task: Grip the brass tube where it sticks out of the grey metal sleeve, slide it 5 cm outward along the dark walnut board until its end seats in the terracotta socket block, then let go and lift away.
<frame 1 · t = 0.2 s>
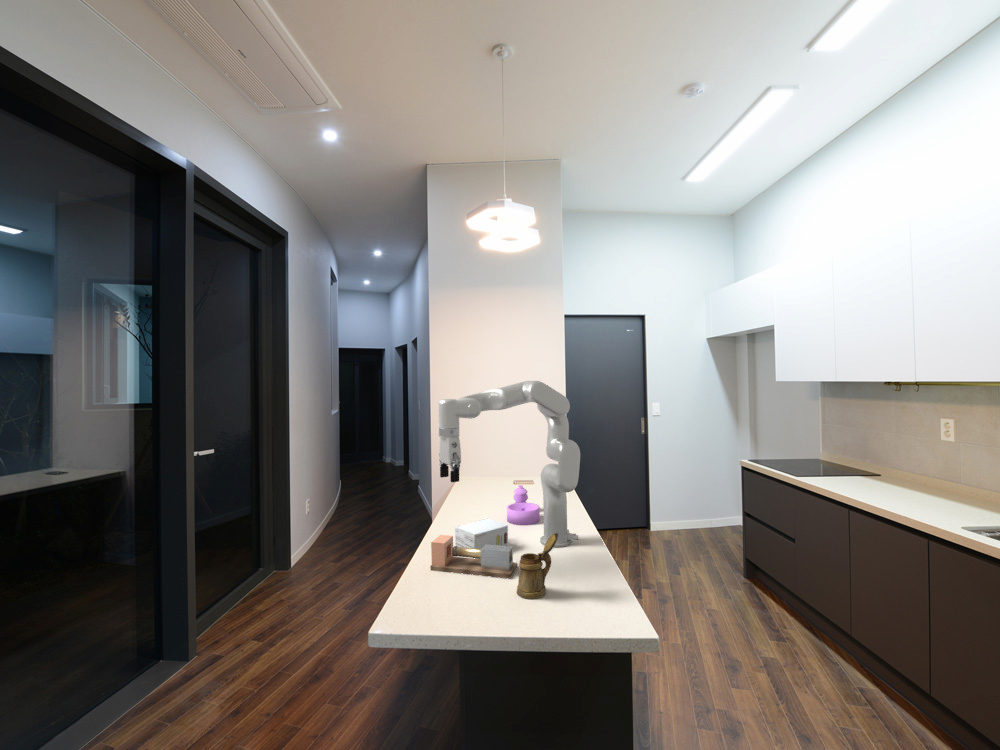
hand: (449, 479, 171), 30 cm above the counter, tool pointing down, fingers open, 9 cm apart
base board: (474, 568, 164), on the counter
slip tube: (481, 553, 164), point 6 cm above the counter, slide at 0.0 cm
socket block: (442, 550, 168), on the base board, point 6 cm above the counter
container set: (522, 517, 224), on the counter
wooden mug: (538, 592, 146), on the counter
sleeve: (496, 557, 162), on the base board, point 5 cm above the counter
supplement box: (481, 549, 184), on the counter
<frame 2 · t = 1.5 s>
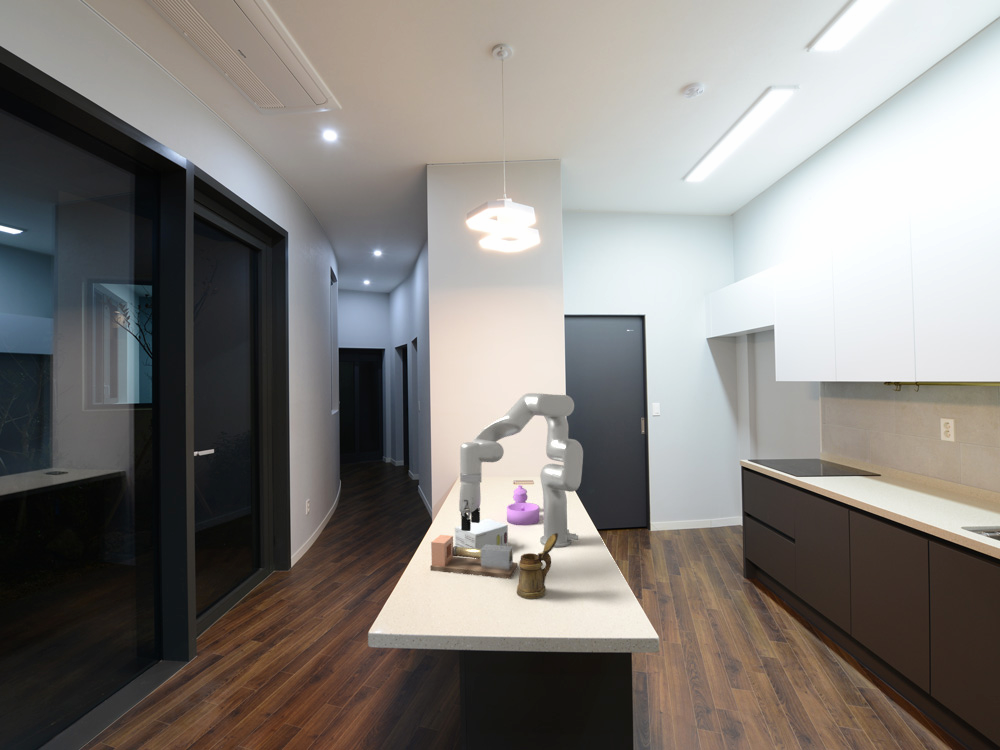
hand: (470, 526, 164), 15 cm above the counter, tool pointing down, fingers open, 9 cm apart
nothing on the counter moved.
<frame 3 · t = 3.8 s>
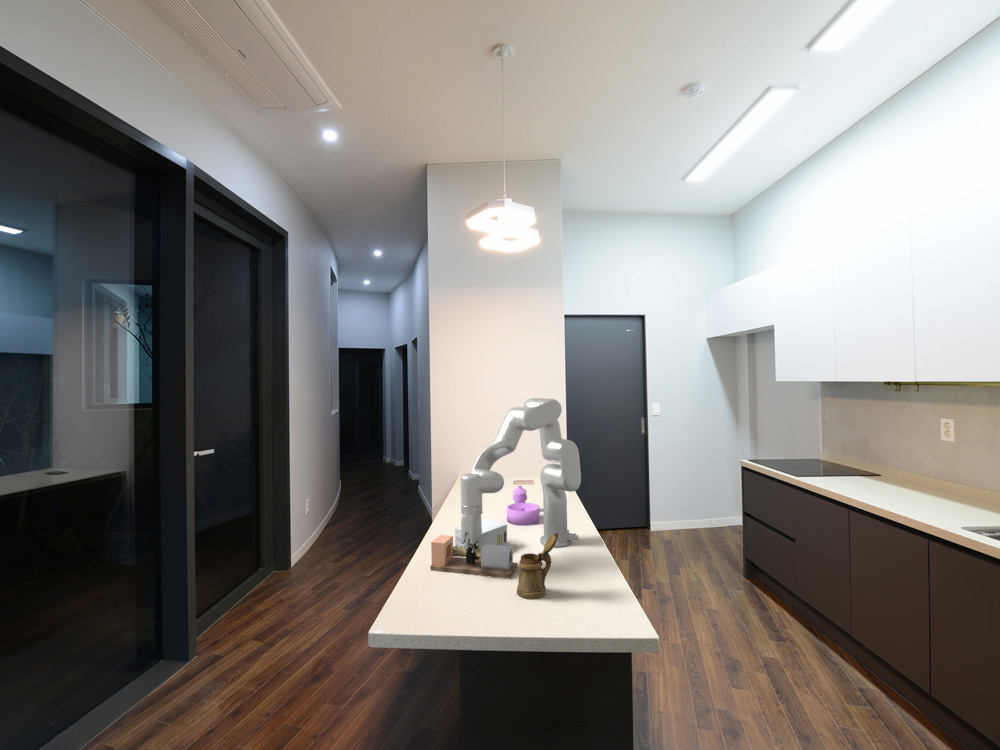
hand: (472, 560, 165), 3 cm above the counter, tool pointing down, fingers closed on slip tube, 3 cm apart
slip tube: (481, 553, 164), point 6 cm above the counter, slide at 0.0 cm, touching gripper
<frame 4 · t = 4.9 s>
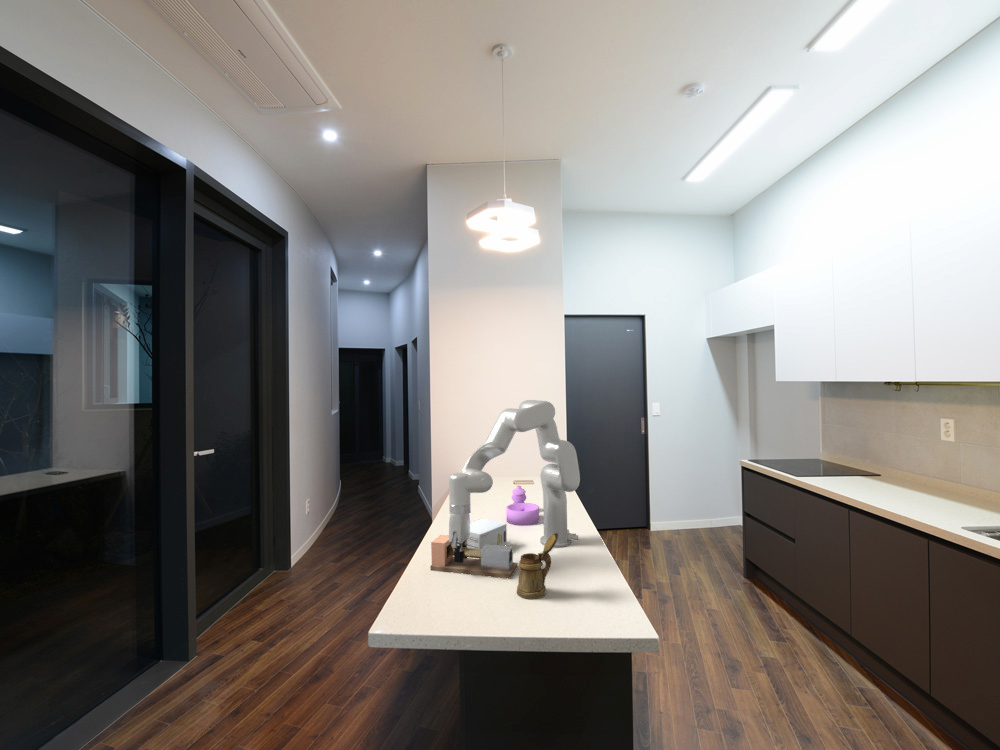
hand: (460, 559, 166), 3 cm above the counter, tool pointing down, fingers closed on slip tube, 3 cm apart
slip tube: (469, 552, 165), point 6 cm above the counter, slide at 4.4 cm, touching gripper
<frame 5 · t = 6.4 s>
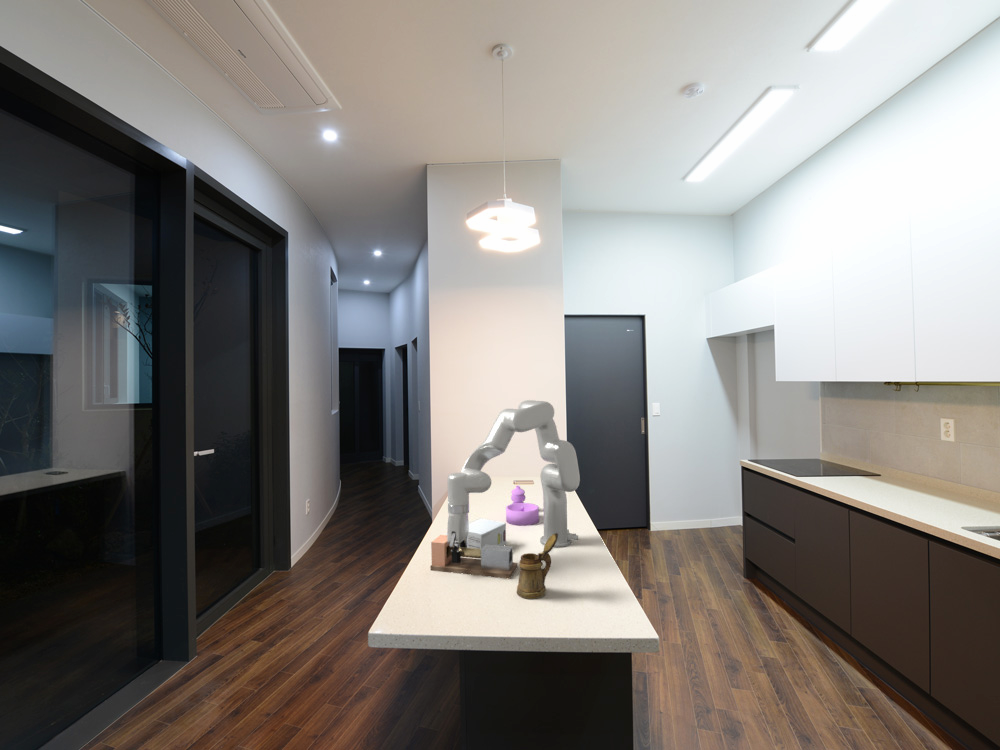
hand: (459, 558, 166), 3 cm above the counter, tool pointing down, fingers open, 5 cm apart
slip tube: (467, 552, 165), point 6 cm above the counter, slide at 5.0 cm
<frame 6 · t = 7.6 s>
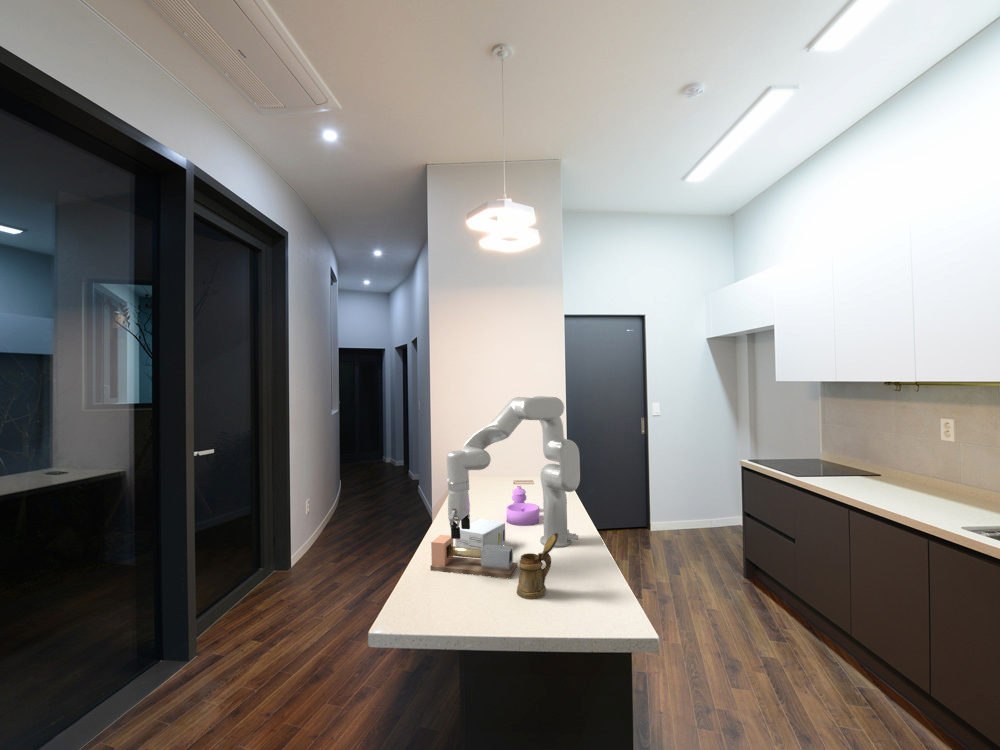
hand: (461, 533, 166), 12 cm above the counter, tool pointing down, fingers open, 9 cm apart
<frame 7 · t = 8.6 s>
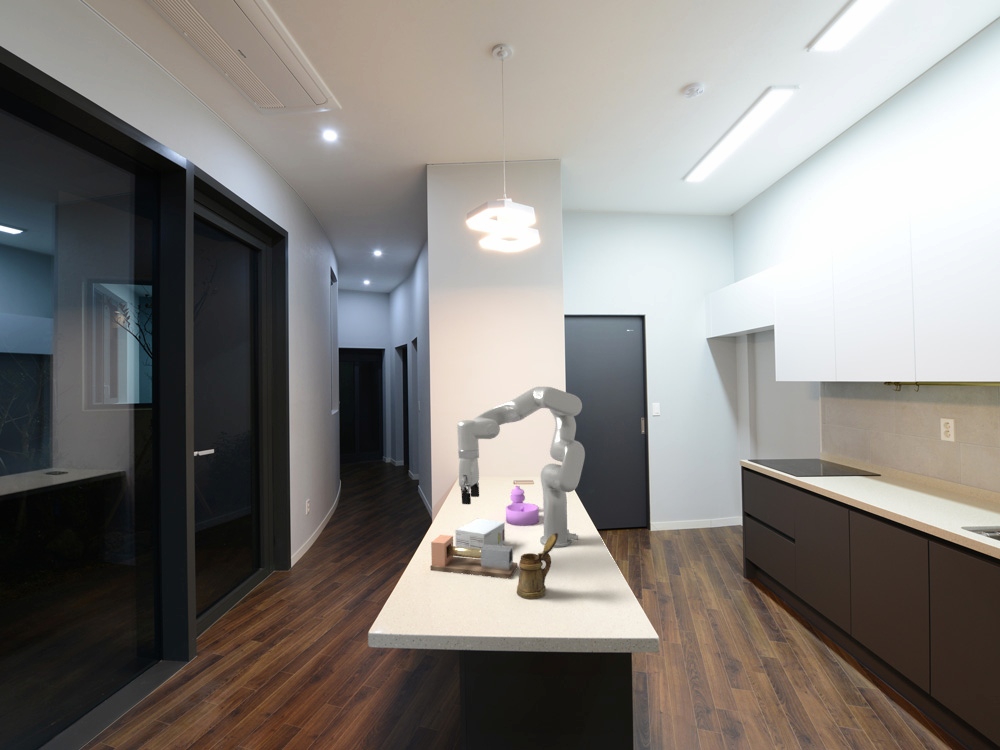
hand: (470, 500, 172), 22 cm above the counter, tool pointing down, fingers open, 9 cm apart
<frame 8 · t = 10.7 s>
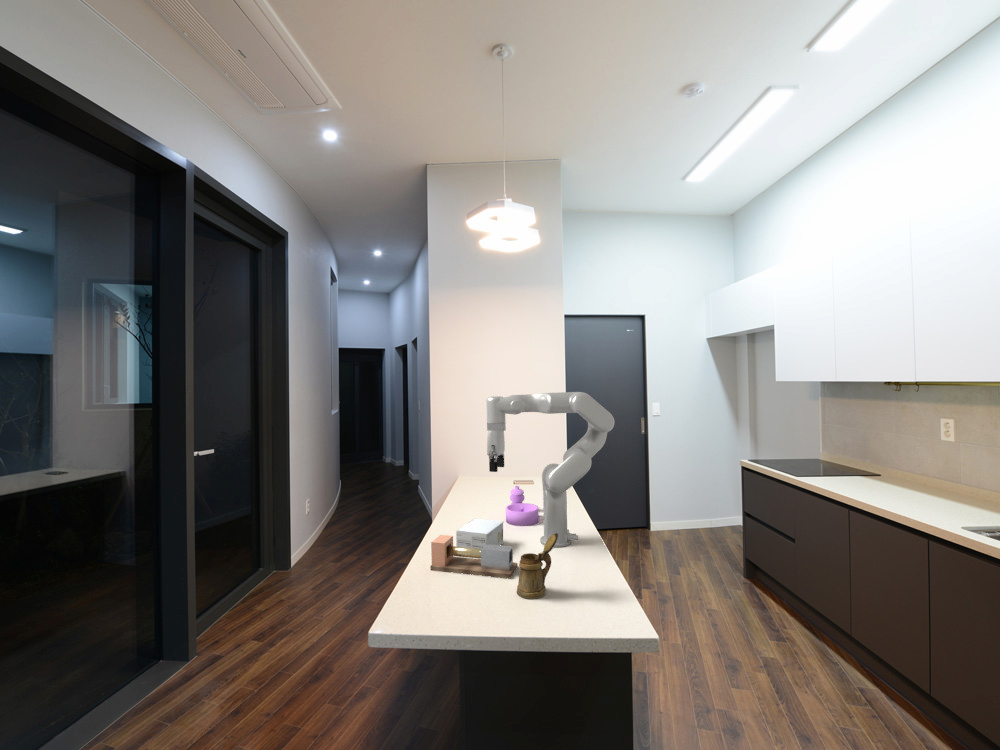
hand: (497, 469, 188), 30 cm above the counter, tool pointing down, fingers open, 9 cm apart
at the end: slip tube slide at 5.0 cm; the gripper is holding nothing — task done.
